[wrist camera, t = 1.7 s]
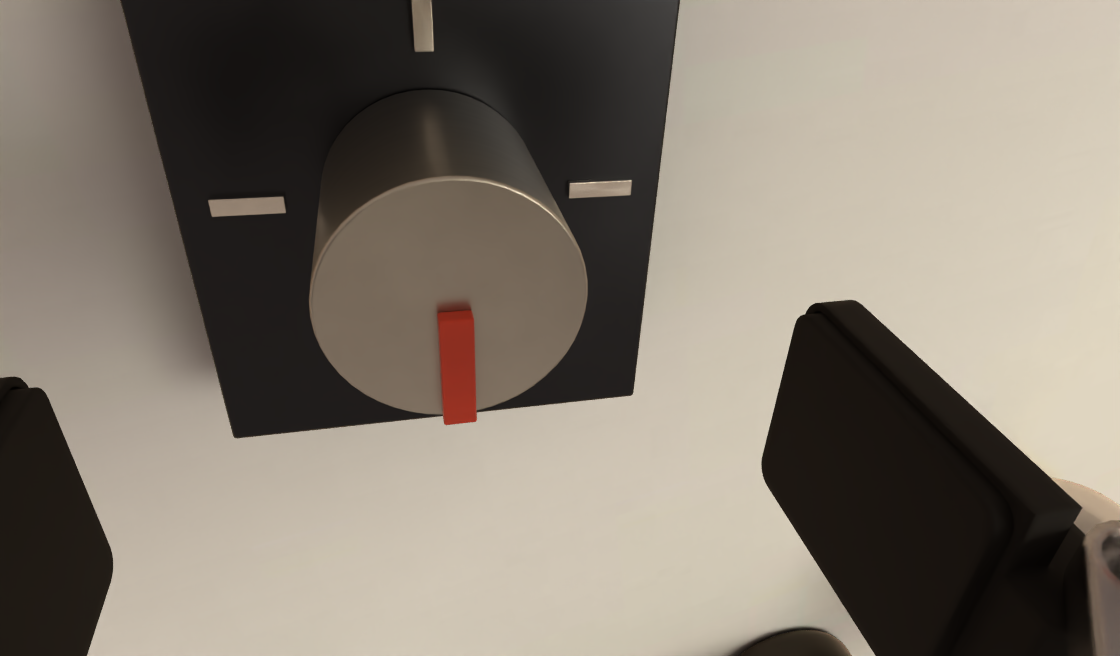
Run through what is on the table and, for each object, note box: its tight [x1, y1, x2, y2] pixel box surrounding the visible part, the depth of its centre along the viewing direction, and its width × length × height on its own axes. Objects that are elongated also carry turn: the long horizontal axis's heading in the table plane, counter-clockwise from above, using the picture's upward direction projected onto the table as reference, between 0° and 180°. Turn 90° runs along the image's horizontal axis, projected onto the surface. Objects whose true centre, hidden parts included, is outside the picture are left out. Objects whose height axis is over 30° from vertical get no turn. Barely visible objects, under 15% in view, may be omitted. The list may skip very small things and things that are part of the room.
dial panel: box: [120, 0, 680, 438], centre depth 17 cm, size 12×10×3 cm
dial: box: [309, 90, 587, 425], centre depth 14 cm, size 4×4×5 cm
